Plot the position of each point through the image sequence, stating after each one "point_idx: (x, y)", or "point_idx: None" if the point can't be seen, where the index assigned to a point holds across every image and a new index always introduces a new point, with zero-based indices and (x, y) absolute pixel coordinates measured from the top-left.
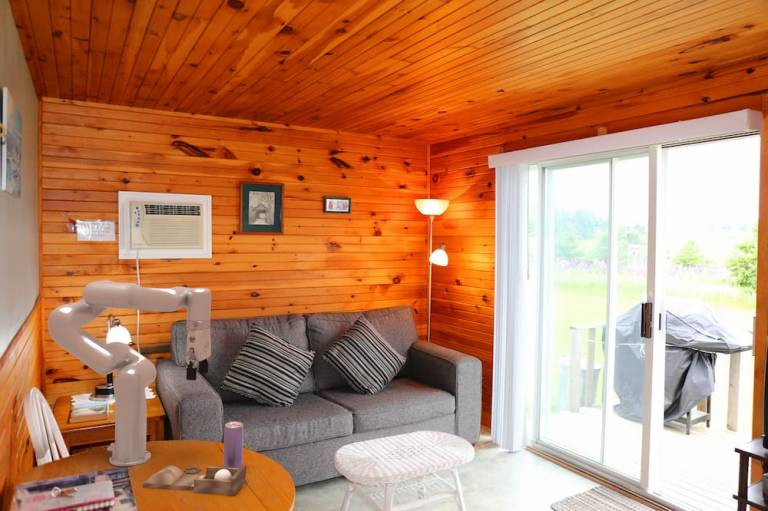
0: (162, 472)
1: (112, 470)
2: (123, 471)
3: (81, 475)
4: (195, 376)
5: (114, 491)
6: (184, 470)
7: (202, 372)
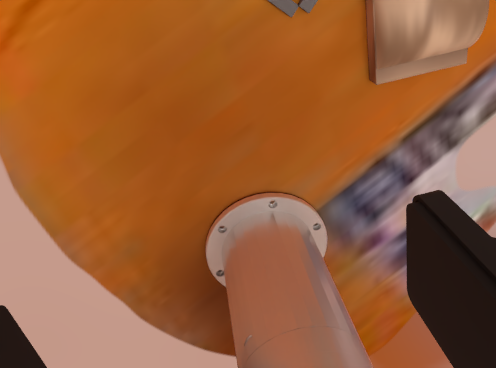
0: (458, 16)
1: (350, 228)
2: (349, 199)
3: (397, 267)
4: (466, 221)
5: (484, 121)
6: (308, 9)
7: (31, 357)
